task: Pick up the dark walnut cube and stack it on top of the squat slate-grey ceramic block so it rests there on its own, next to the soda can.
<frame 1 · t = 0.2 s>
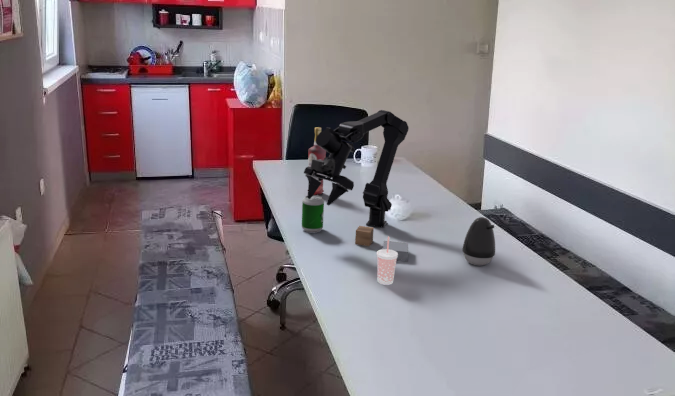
hand: (318, 201, 206), 15 cm above the table, tool tilted 30°, fingers open, 9 cm apart
slate block: (395, 256, 204), on the table
liquor: (315, 194, 264), on the table
soda can: (312, 230, 223), on the table
beverage cup: (385, 282, 184), on the table
walnut cube: (363, 242, 213), on the table
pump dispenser: (477, 263, 201), on the table
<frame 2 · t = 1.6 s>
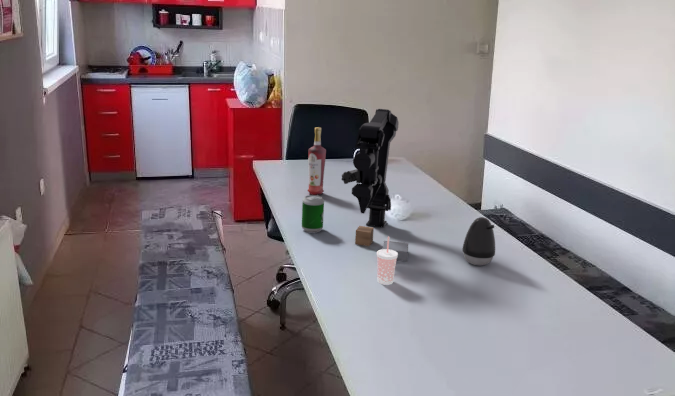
hand: (365, 209, 210), 12 cm above the table, tool pointing down, fingers open, 9 cm apart
nothing on the table moved.
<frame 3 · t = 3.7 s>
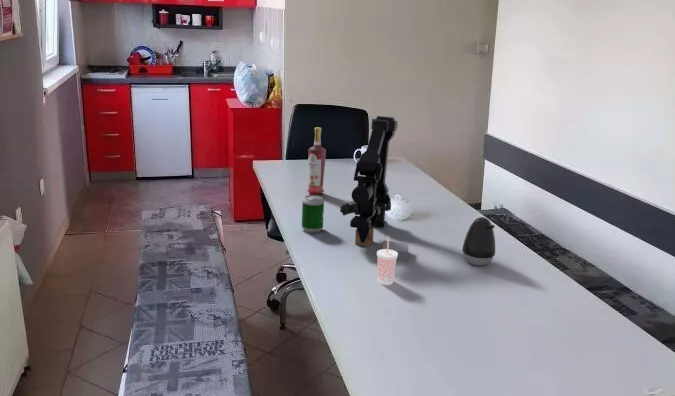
hand: (364, 239, 213), 1 cm above the table, tool pointing down, fingers closed on walnut cube, 5 cm apart
walnut cube: (364, 242, 213), on the table, touching gripper
everything else where it was.
when the fingers open (6 cm above the table, at t = 7.7 s): walnut cube drops 2 cm, resting on slate block.
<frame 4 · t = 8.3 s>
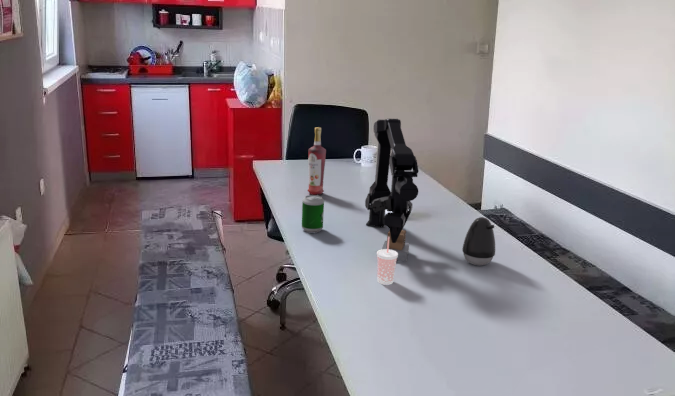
hand: (396, 237, 202), 6 cm above the table, tool pointing down, fingers open, 9 cm apart
slate block: (394, 256, 204), on the table, touching walnut cube
walnut cube: (395, 246, 203), point 3 cm above the table, touching slate block
everything else where it was.
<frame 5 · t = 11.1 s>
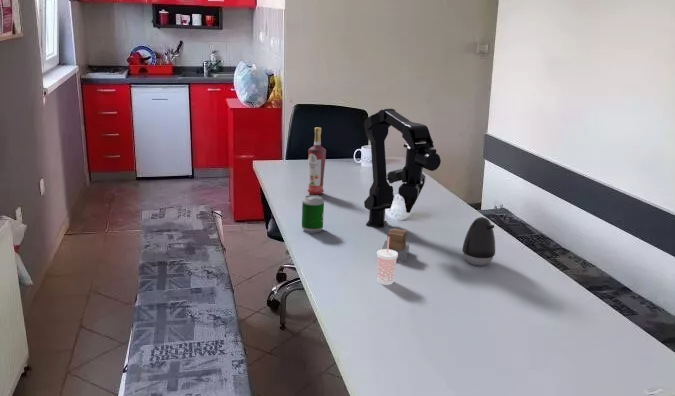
hand: (410, 208, 211), 13 cm above the table, tool pointing down, fingers open, 9 cm apart
nothing on the table moved.
at the end: walnut cube 0.2 cm off-centre on the slate block, point 3.5 cm above the slate block's base; walnut cube tilted 0°; the gripper is holding nothing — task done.
